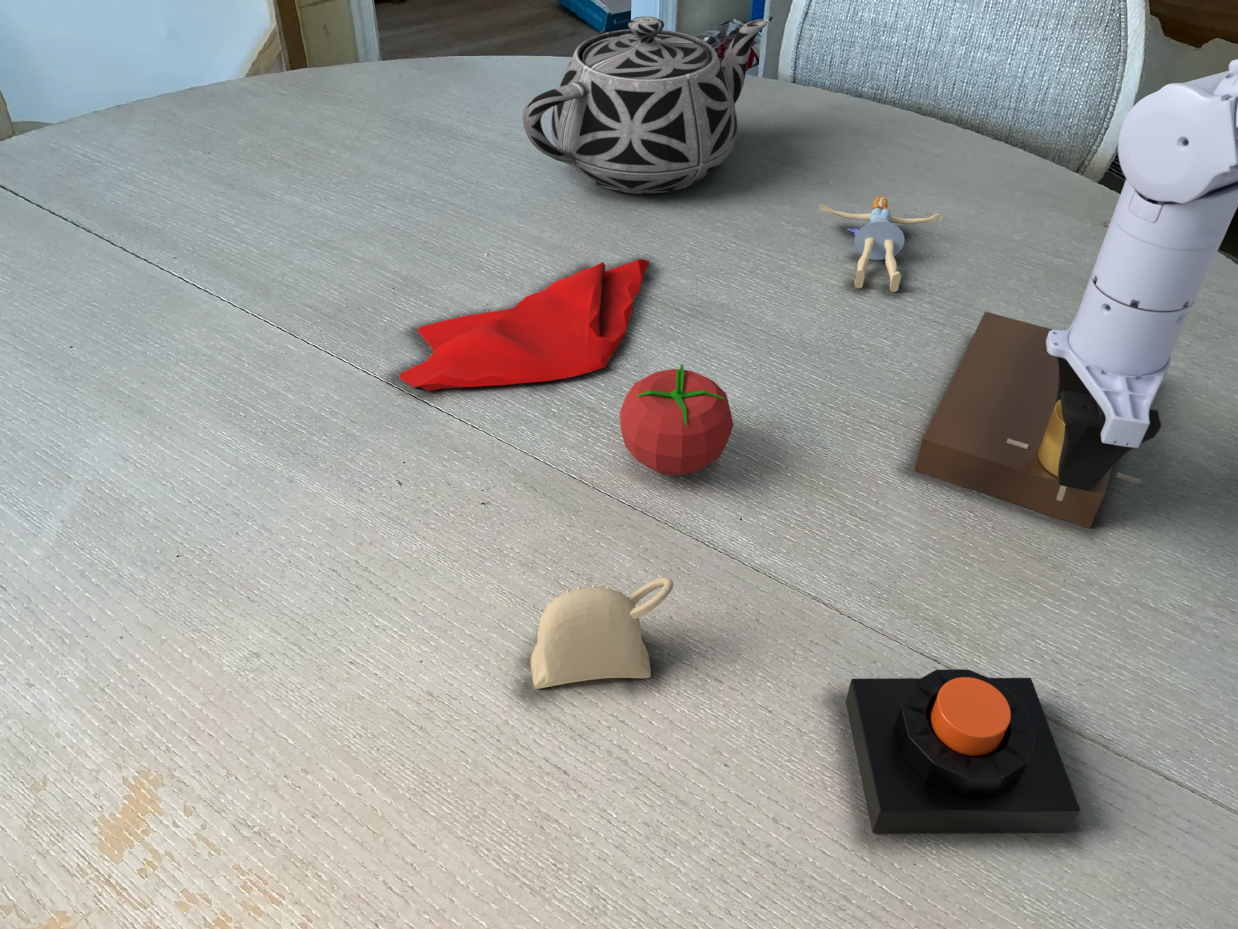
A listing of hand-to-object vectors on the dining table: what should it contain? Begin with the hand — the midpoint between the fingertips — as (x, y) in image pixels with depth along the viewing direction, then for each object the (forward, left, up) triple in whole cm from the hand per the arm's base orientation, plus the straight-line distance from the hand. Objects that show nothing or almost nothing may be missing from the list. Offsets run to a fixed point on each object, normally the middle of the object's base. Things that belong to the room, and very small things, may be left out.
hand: (1071, 459), depth 68 cm
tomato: (+25, +10, -3) cm, 27 cm away
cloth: (+41, +1, -3) cm, 41 cm away
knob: (0, 0, 0) cm, 0 cm away
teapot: (+48, -31, -3) cm, 57 cm away
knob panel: (+3, -6, -3) cm, 7 cm away
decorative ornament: (+21, +28, -3) cm, 35 cm away
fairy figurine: (+21, -24, -3) cm, 32 cm away
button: (+1, +24, 0) cm, 24 cm away
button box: (+1, +25, -3) cm, 25 cm away
